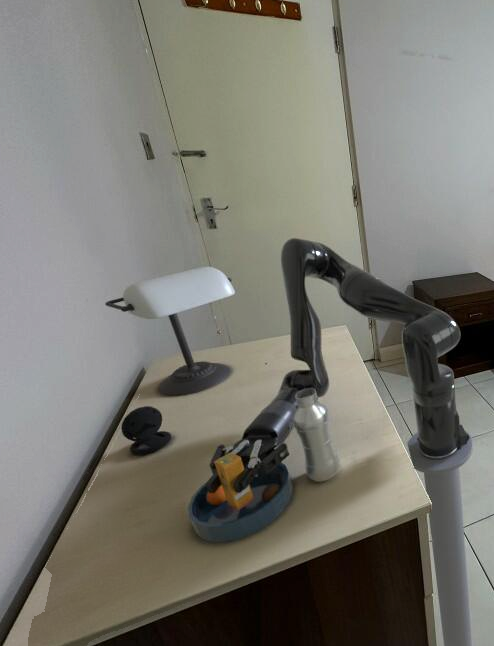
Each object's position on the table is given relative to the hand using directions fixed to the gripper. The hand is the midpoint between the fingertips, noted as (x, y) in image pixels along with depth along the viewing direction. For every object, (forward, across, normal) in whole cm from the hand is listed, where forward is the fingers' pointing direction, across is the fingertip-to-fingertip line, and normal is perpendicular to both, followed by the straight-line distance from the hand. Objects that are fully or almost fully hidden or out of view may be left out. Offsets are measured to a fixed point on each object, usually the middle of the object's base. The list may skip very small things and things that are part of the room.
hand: (223, 489), depth 69 cm
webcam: (-22, -33, +9) cm, 41 cm away
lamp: (-51, -40, +9) cm, 65 cm away
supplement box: (-3, 0, +6) cm, 7 cm away
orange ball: (-5, -6, +6) cm, 10 cm away
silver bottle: (-12, +11, +9) cm, 19 cm away
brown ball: (-5, +5, +6) cm, 9 cm away
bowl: (-4, -1, +9) cm, 10 cm away
